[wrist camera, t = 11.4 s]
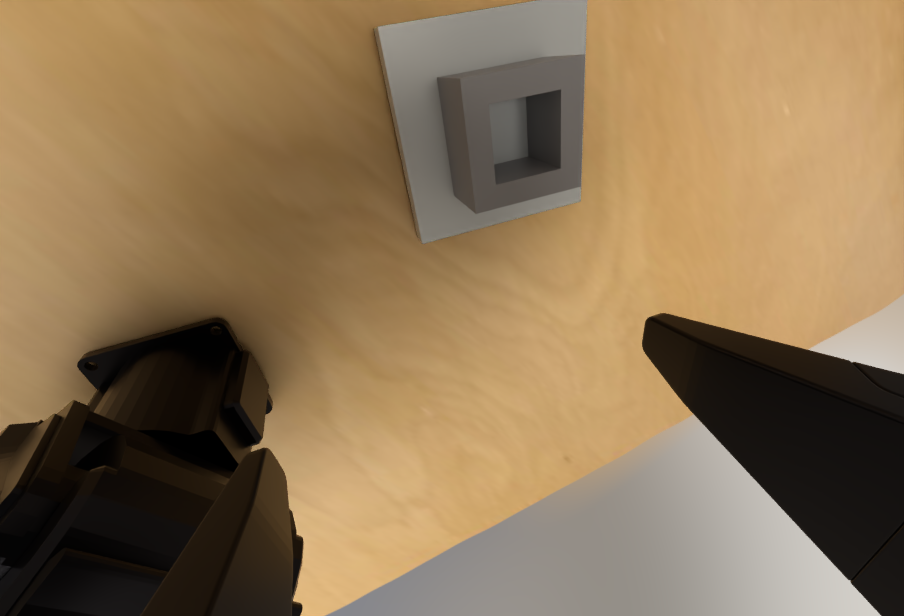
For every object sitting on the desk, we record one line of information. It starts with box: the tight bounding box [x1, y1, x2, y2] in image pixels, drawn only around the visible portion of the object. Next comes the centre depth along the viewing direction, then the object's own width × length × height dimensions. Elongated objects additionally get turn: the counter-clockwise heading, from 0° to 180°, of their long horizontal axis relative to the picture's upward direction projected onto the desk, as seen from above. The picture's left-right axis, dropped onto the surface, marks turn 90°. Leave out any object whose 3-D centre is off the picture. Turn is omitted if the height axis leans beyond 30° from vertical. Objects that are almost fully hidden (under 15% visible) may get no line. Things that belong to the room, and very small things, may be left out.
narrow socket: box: [374, 0, 587, 244], centre depth 17 cm, size 9×9×4 cm
